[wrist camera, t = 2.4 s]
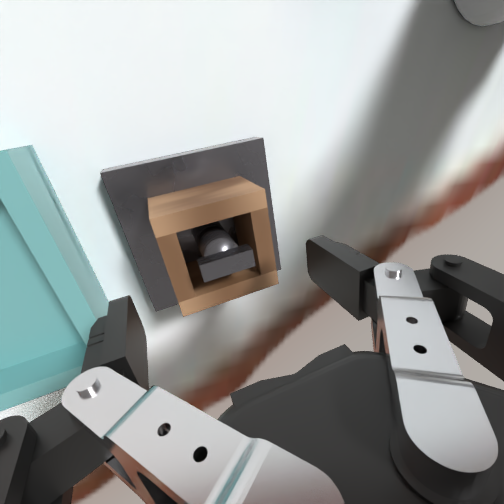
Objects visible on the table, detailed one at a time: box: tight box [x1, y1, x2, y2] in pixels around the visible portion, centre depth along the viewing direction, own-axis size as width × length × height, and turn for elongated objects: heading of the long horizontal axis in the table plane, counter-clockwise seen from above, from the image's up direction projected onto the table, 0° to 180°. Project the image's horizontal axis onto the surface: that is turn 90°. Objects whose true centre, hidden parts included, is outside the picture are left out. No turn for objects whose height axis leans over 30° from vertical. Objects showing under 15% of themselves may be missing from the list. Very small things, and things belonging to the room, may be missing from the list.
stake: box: [100, 137, 281, 311], centre depth 18 cm, size 10×10×7 cm
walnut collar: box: [148, 176, 279, 317], centre depth 18 cm, size 6×6×4 cm
